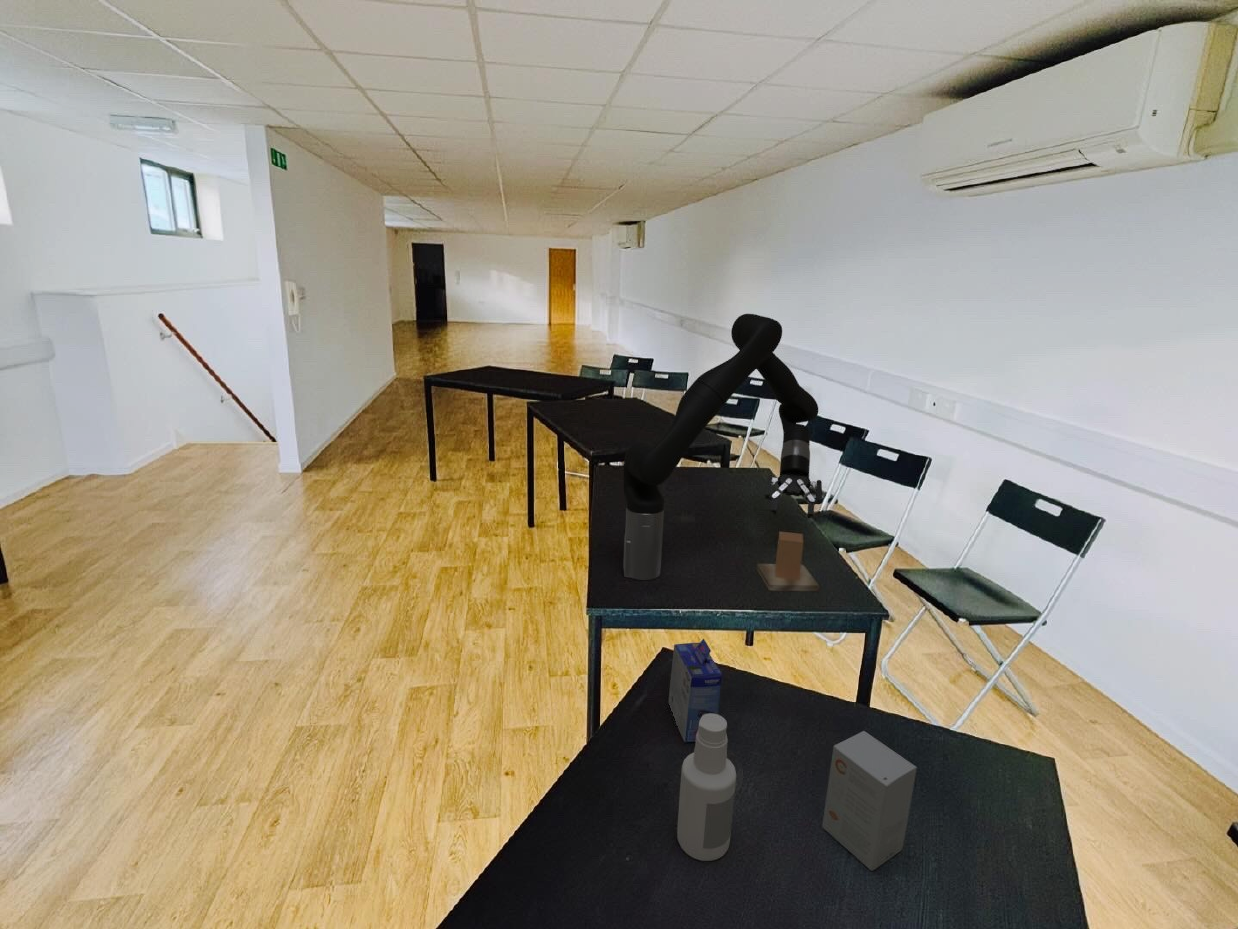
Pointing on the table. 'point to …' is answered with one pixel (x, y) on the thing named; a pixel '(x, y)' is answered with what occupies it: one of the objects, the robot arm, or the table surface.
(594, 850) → the table surface
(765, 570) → the post stand
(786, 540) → the tall brown carton
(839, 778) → the small box
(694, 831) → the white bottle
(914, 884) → the table surface
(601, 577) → the table surface
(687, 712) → the ink cartridge box
